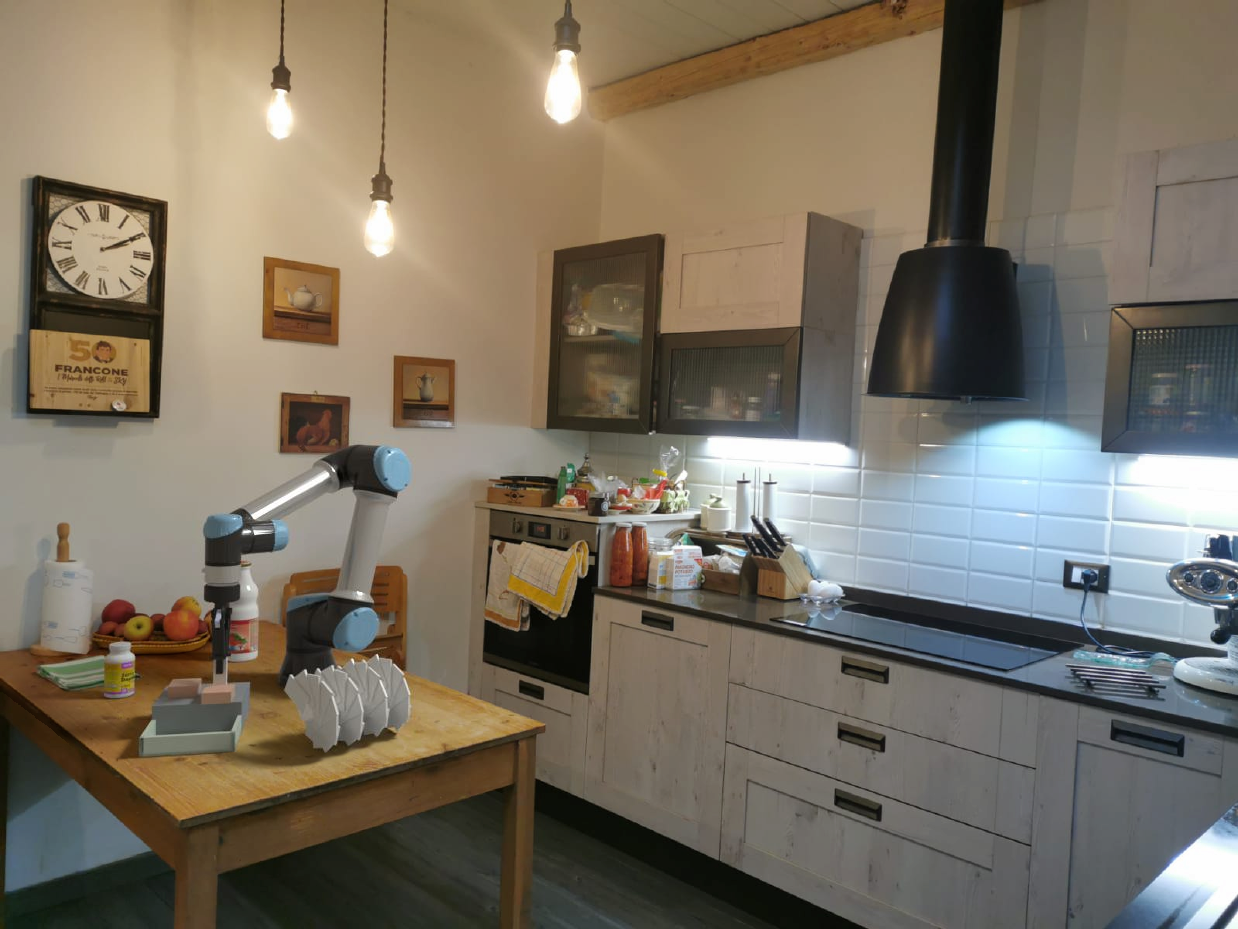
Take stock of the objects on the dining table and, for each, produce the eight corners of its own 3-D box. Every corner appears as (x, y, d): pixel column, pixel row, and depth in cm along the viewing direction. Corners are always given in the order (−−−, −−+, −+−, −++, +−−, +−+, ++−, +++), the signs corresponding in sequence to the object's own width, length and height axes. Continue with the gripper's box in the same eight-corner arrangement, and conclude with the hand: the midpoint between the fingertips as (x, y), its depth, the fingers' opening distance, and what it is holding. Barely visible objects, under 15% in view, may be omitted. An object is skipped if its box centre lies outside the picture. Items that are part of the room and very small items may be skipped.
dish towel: (66, 694, 224) (66, 683, 224) (33, 675, 239) (33, 665, 239) (141, 680, 238) (142, 670, 238) (105, 663, 253) (105, 653, 253)
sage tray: (241, 733, 200) (241, 715, 200) (234, 751, 189) (234, 732, 189) (151, 738, 195) (151, 719, 195) (139, 757, 184) (139, 738, 184)
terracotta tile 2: (201, 688, 208) (201, 678, 208) (196, 696, 202) (197, 685, 202) (172, 690, 206) (173, 679, 206) (167, 698, 201) (167, 686, 201)
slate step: (249, 711, 215) (250, 682, 215) (241, 733, 200) (241, 701, 200) (166, 715, 210) (166, 685, 210) (151, 738, 195) (152, 706, 195)
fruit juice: (264, 658, 262) (266, 562, 260) (233, 664, 254) (234, 565, 253) (247, 652, 267) (248, 558, 266) (216, 658, 260) (217, 561, 259)
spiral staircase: (408, 748, 206) (312, 774, 186) (367, 700, 215) (271, 719, 195) (436, 683, 201) (340, 702, 181) (392, 636, 210) (297, 650, 191)
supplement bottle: (121, 700, 220) (121, 648, 219) (97, 698, 221) (97, 646, 220) (140, 692, 226) (141, 641, 226) (117, 690, 227) (118, 639, 227)
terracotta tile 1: (234, 695, 204) (234, 684, 204) (230, 703, 198) (231, 692, 198) (205, 696, 203) (206, 685, 202) (201, 704, 197) (201, 693, 197)
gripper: (209, 578, 208) (207, 679, 209) (198, 588, 196) (196, 696, 197) (244, 578, 210) (241, 678, 211) (236, 588, 198) (233, 694, 199)
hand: (219, 686), depth 204 cm, fingers closed
